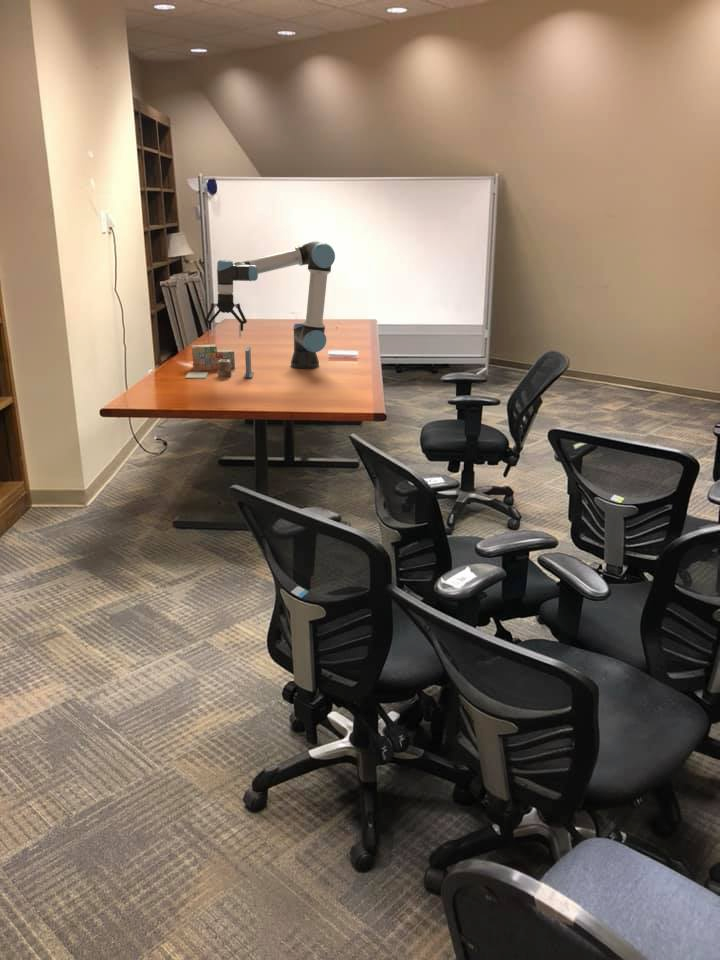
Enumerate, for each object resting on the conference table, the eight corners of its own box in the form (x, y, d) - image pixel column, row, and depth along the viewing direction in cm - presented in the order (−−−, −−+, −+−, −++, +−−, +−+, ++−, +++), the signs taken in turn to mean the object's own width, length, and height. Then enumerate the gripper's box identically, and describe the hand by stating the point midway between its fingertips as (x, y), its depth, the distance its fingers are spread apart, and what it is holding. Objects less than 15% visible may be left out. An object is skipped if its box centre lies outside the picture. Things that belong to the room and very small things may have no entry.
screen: (253, 373, 392) (252, 346, 387) (251, 378, 380) (250, 350, 375) (245, 373, 391) (244, 346, 386) (243, 378, 380) (242, 350, 375)
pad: (208, 373, 390) (208, 372, 390) (205, 378, 379) (205, 377, 379) (188, 373, 390) (188, 372, 389) (184, 378, 378) (184, 377, 378)
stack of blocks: (233, 366, 407) (233, 343, 403) (235, 369, 402) (234, 345, 397) (193, 368, 402) (191, 344, 398) (193, 370, 397) (192, 346, 392)
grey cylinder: (231, 374, 388) (230, 359, 385) (230, 377, 382) (229, 361, 380) (219, 374, 388) (218, 358, 385) (218, 377, 382) (217, 361, 379)
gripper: (251, 293, 375) (252, 336, 382) (200, 291, 374) (201, 334, 381) (250, 295, 368) (251, 339, 375) (198, 293, 366) (199, 337, 374)
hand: (226, 337), depth 378 cm, fingers open, 13 cm apart
